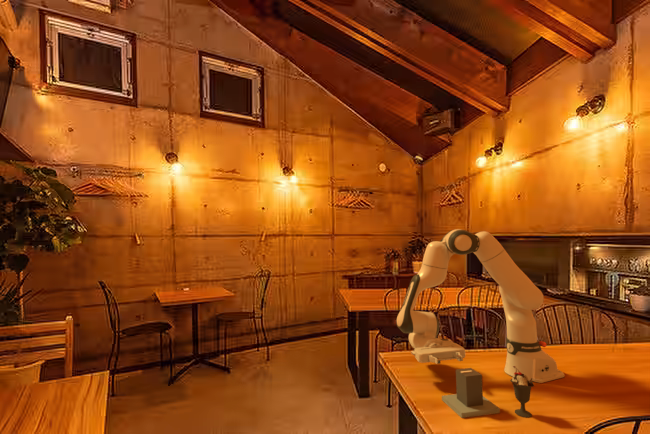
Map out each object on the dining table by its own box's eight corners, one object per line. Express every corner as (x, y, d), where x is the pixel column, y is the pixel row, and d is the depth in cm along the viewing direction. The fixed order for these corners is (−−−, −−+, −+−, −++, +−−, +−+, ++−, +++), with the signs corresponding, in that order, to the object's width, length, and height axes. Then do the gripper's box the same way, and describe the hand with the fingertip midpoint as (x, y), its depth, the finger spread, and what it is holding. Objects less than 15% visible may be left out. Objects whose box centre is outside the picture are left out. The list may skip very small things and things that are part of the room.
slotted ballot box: (472, 396, 119) (470, 367, 119) (483, 405, 113) (481, 373, 113) (456, 398, 118) (455, 368, 118) (467, 407, 112) (465, 375, 112)
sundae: (507, 409, 113) (505, 363, 114) (525, 407, 113) (523, 362, 114) (520, 419, 106) (517, 371, 107) (539, 418, 107) (537, 370, 108)
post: (477, 395, 122) (476, 372, 123) (499, 412, 110) (498, 387, 111) (442, 400, 120) (441, 376, 120) (461, 417, 108) (460, 391, 108)
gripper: (408, 343, 140) (424, 354, 126) (453, 338, 143) (473, 349, 130) (409, 358, 139) (425, 371, 126) (454, 353, 143) (474, 365, 129)
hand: (450, 360), depth 128 cm, fingers open, 8 cm apart
